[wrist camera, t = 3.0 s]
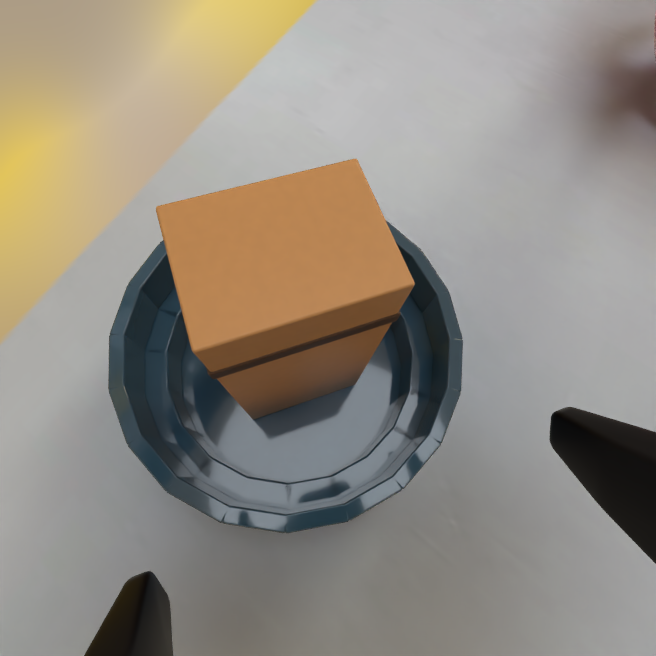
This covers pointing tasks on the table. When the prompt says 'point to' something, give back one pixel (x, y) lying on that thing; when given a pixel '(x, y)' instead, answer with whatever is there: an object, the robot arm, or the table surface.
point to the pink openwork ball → (655, 37)
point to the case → (286, 283)
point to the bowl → (284, 412)
